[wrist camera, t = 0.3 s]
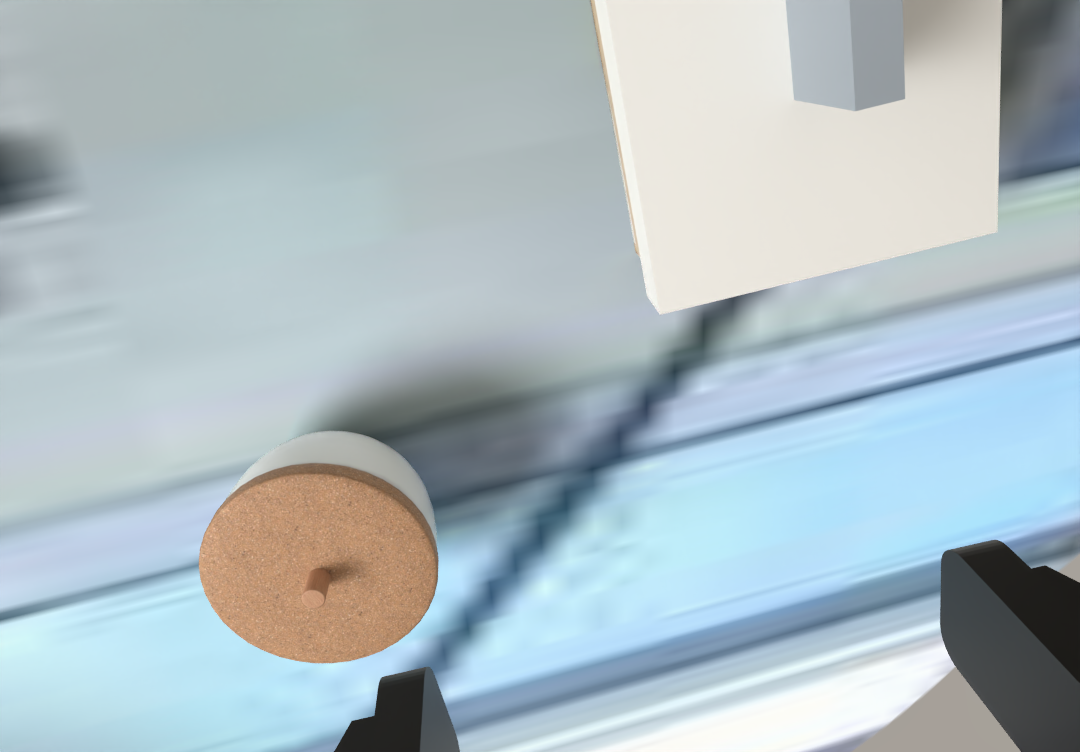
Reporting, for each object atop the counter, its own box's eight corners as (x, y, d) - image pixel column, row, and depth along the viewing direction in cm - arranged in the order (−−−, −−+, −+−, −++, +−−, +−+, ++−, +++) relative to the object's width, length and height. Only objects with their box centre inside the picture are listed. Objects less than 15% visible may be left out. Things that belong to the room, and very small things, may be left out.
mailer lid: (553, -227, 26) (584, -322, 19) (961, -331, 26) (1138, -465, 19) (647, 296, 34) (692, 360, 27) (961, 219, 34) (1086, 264, 27)
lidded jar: (316, 593, 45) (280, 723, 36) (202, 453, 41) (131, 564, 32) (477, 515, 44) (480, 631, 35) (377, 363, 40) (351, 452, 31)
